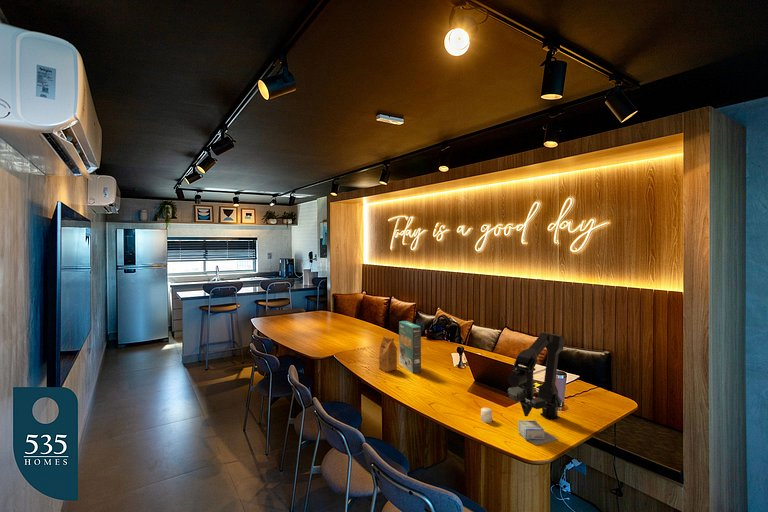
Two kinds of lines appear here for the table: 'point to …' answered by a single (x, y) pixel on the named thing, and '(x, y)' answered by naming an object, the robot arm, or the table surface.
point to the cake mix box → (410, 346)
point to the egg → (486, 415)
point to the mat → (546, 439)
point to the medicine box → (531, 430)
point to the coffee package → (387, 355)
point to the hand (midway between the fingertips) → (526, 416)
